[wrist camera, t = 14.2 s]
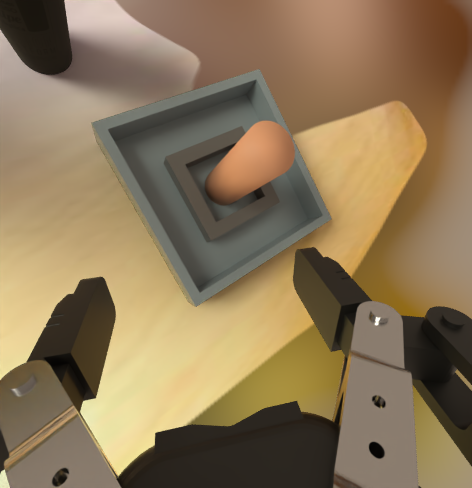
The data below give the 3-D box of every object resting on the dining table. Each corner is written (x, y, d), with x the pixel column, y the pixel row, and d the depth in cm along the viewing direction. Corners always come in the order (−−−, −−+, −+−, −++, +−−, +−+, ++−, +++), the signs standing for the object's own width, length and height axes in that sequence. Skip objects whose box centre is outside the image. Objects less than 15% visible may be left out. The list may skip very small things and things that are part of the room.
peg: (197, 178, 31) (235, 131, 20) (228, 163, 33) (279, 113, 22) (216, 211, 32) (262, 184, 21) (245, 195, 34) (303, 162, 22)
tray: (96, 141, 29) (91, 122, 25) (246, 89, 36) (259, 69, 32) (188, 301, 31) (196, 306, 27) (312, 223, 38) (331, 218, 34)
